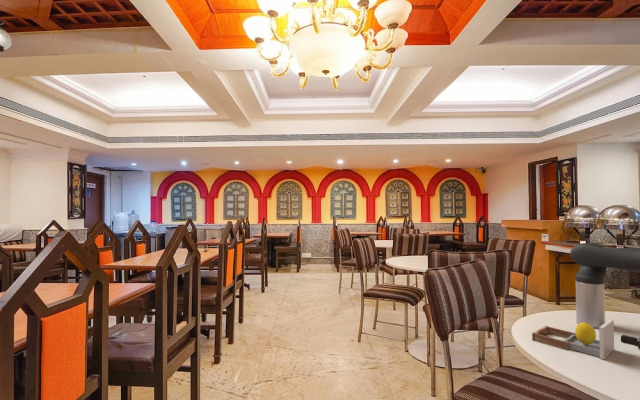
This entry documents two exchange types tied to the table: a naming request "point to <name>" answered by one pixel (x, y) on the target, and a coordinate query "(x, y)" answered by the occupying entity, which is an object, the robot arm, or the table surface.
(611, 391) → the table surface
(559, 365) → the table surface
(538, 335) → the frame
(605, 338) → the tray
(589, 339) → the lemon
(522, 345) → the table surface
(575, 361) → the table surface
